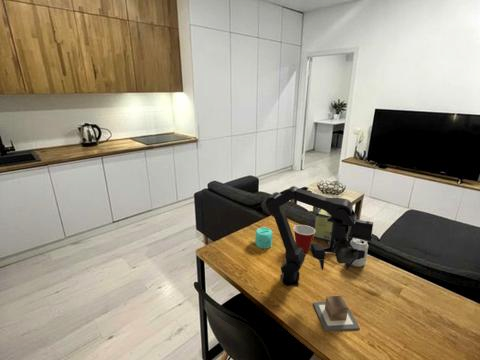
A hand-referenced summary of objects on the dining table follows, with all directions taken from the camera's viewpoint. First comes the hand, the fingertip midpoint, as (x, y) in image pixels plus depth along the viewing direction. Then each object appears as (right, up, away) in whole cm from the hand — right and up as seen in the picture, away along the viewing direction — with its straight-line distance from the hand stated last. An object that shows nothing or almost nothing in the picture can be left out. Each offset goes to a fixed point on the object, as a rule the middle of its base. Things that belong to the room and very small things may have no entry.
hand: (334, 269), depth 99 cm
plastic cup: (-4, -1, +33) cm, 33 cm away
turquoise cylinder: (-23, 0, +38) cm, 44 cm away
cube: (-2, -14, -6) cm, 15 cm away
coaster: (-2, -15, -6) cm, 16 cm away
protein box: (+13, +2, +43) cm, 45 cm away
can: (+19, -5, +23) cm, 30 cm away
